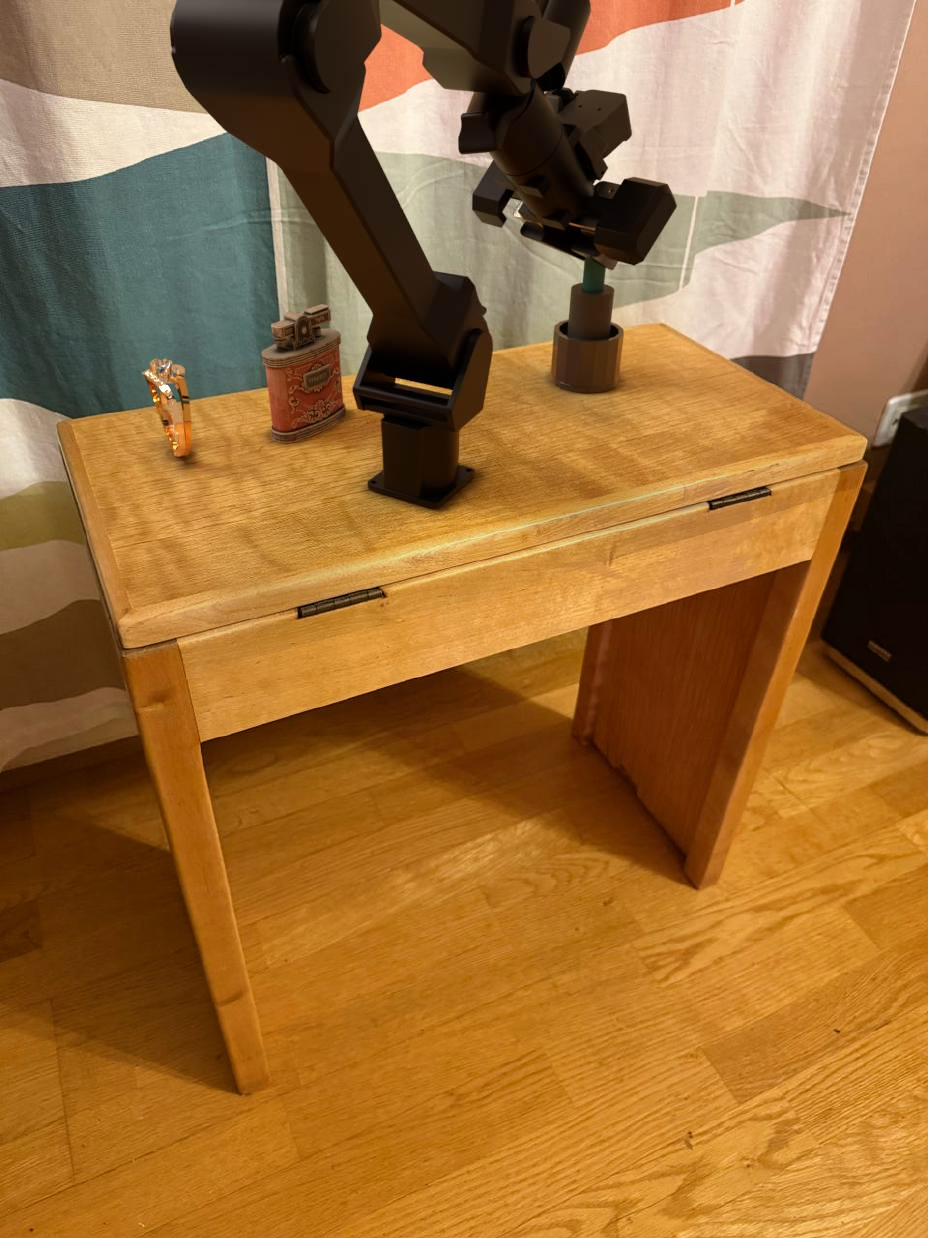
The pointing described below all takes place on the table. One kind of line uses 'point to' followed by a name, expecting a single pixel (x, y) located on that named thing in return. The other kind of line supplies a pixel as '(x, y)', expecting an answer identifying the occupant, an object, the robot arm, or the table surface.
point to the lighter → (304, 375)
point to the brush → (591, 305)
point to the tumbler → (586, 360)
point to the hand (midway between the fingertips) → (604, 262)
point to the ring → (171, 403)
